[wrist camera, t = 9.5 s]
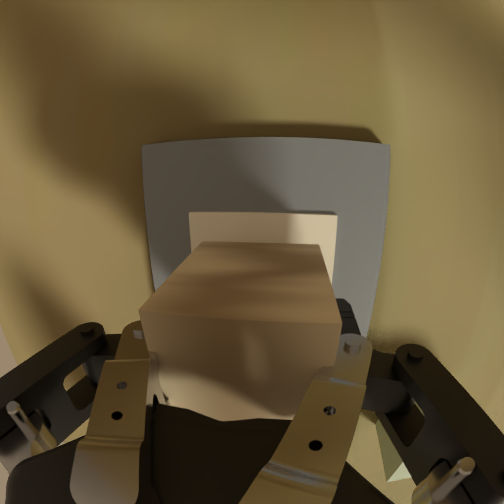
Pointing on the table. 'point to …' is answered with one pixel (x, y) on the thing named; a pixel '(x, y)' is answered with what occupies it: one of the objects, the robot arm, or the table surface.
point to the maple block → (243, 328)
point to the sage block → (391, 456)
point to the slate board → (272, 203)
